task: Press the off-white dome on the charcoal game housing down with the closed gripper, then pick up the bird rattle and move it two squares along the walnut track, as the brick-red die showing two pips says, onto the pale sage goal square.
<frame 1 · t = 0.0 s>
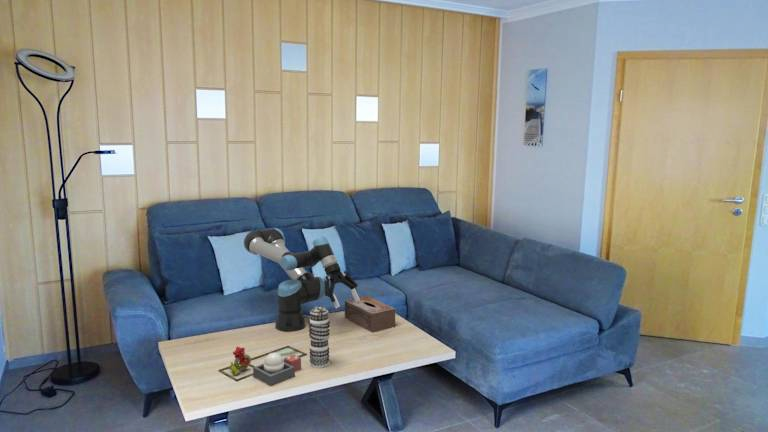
hand: (348, 304, 271), 15 cm above the table, tool tilted 35°, fingers open, 13 cm apart
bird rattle: (240, 372, 231), on the table
decorative candle: (319, 364, 239), on the table
tissue box cover: (369, 323, 290), on the table
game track: (264, 362, 239), on the table
dome housing: (274, 376, 226), on the table
dome: (273, 362, 225), point 6 cm above the table, slide at 0.0 cm
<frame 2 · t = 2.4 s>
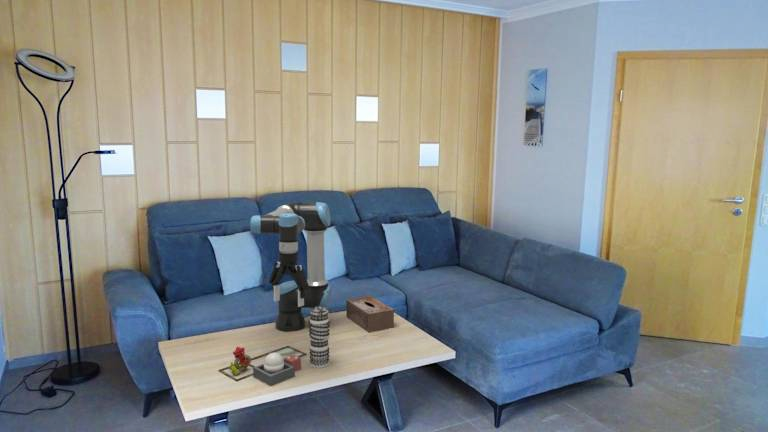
hand: (288, 303, 225), 30 cm above the table, tool pointing down, fingers open, 13 cm apart
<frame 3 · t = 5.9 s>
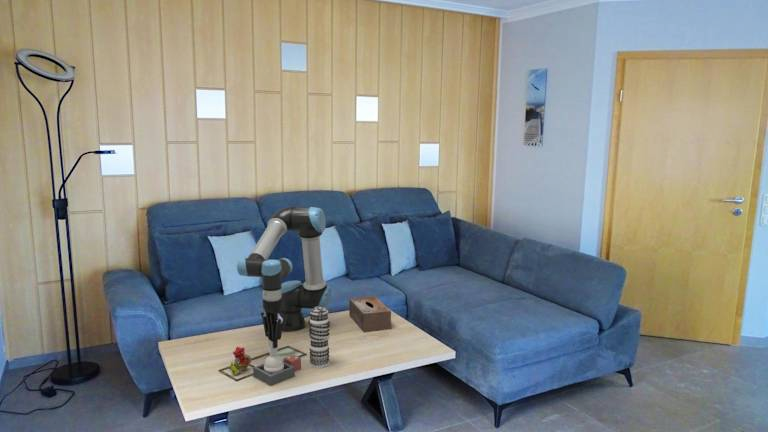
hand: (273, 354, 225), 10 cm above the table, tool pointing down, fingers closed
dome: (273, 363, 225), point 5 cm above the table, slide at 0.7 cm, touching gripper
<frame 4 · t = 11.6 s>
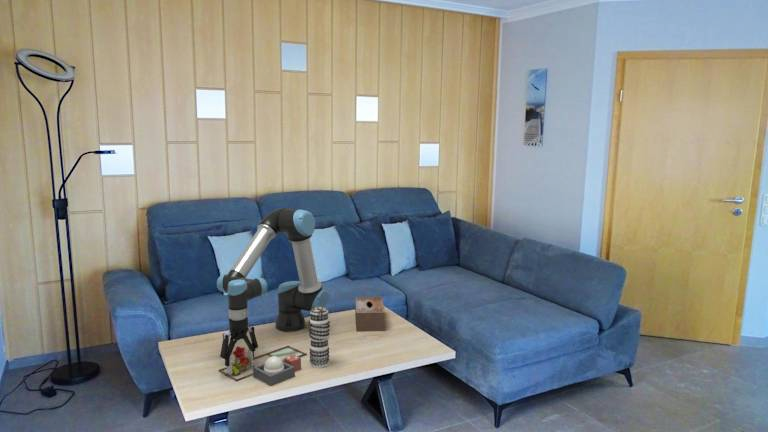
hand: (240, 368, 230), 1 cm above the table, tool pointing down, fingers closed on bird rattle, 9 cm apart
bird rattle: (240, 371, 231), on the table, touching gripper
dome: (273, 365, 226), point 5 cm above the table, slide at 1.5 cm
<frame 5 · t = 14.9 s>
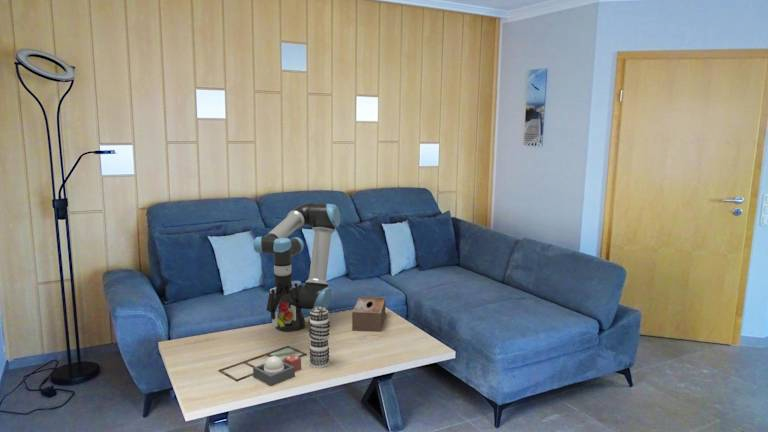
hand: (284, 322, 245), 15 cm above the table, tool pointing down, fingers closed on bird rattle, 9 cm apart
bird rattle: (284, 325, 245), point 14 cm above the table, touching gripper
when the fingers open (3 cm above the table, at t = 18.4 s): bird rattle drops 1 cm, resting on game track.
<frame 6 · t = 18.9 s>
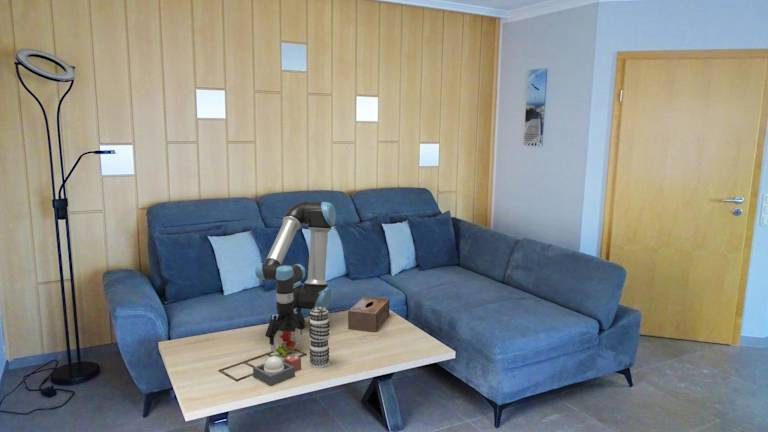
hand: (286, 346, 247), 4 cm above the table, tool pointing down, fingers open, 13 cm apart
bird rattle: (286, 354, 248), resting on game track
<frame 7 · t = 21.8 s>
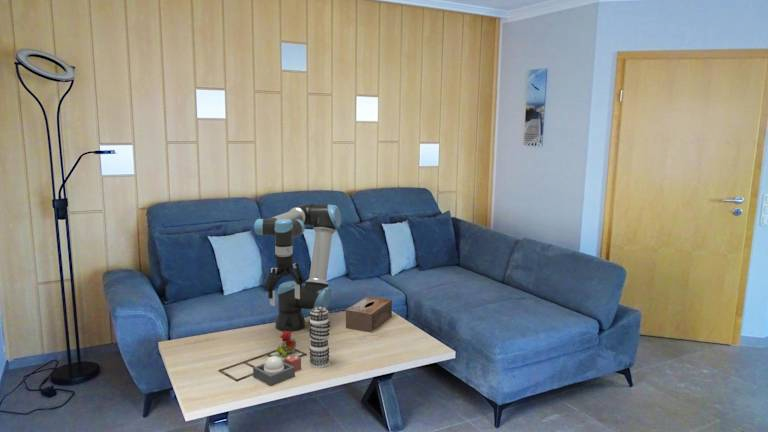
hand: (285, 301, 244), 25 cm above the table, tool pointing down, fingers open, 13 cm apart
at the end: dome slide at 1.5 cm; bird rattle inside the target area (0.4 cm from its centre), resting on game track; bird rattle tilted 0° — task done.
